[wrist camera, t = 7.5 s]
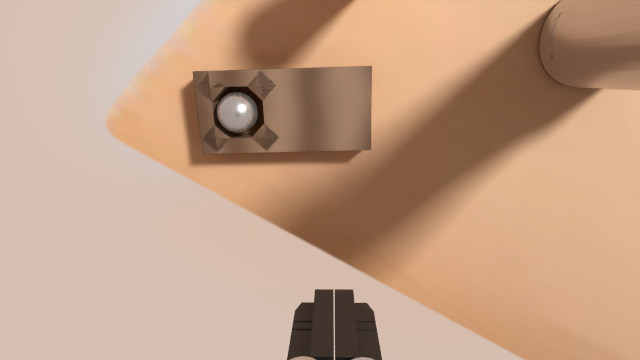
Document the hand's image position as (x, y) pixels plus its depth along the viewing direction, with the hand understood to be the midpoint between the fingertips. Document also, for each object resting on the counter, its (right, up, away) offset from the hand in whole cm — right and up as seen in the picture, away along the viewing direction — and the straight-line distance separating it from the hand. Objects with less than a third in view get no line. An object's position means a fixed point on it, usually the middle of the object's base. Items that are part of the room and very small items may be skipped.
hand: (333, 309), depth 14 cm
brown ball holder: (-4, +12, +23) cm, 26 cm away
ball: (-9, +12, +21) cm, 26 cm away
